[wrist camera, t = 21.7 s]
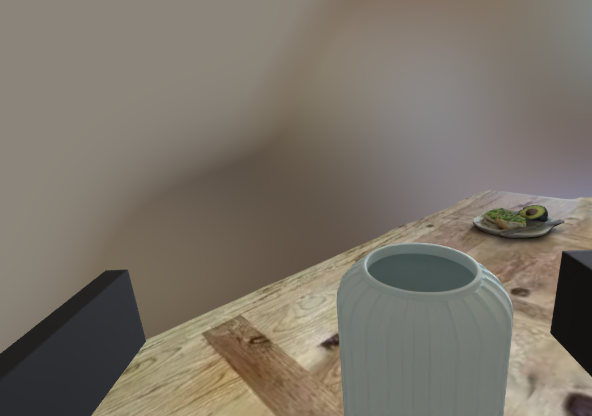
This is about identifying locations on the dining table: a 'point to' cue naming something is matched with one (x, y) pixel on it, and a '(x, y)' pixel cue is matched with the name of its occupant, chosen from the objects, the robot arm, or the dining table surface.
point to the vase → (423, 334)
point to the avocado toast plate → (516, 222)
